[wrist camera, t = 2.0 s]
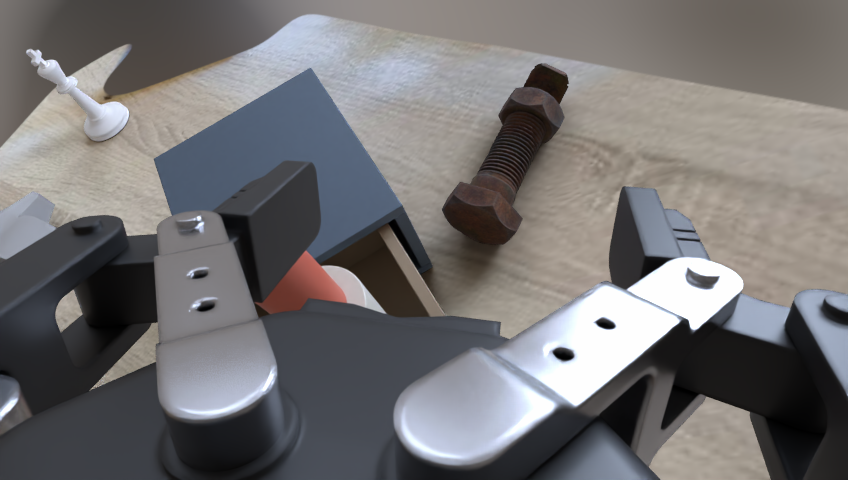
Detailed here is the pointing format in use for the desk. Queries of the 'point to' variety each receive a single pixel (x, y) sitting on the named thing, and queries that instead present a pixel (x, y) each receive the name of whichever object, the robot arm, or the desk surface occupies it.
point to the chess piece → (84, 101)
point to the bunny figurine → (24, 224)
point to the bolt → (509, 159)
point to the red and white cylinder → (317, 287)
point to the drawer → (385, 275)
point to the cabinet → (296, 141)
